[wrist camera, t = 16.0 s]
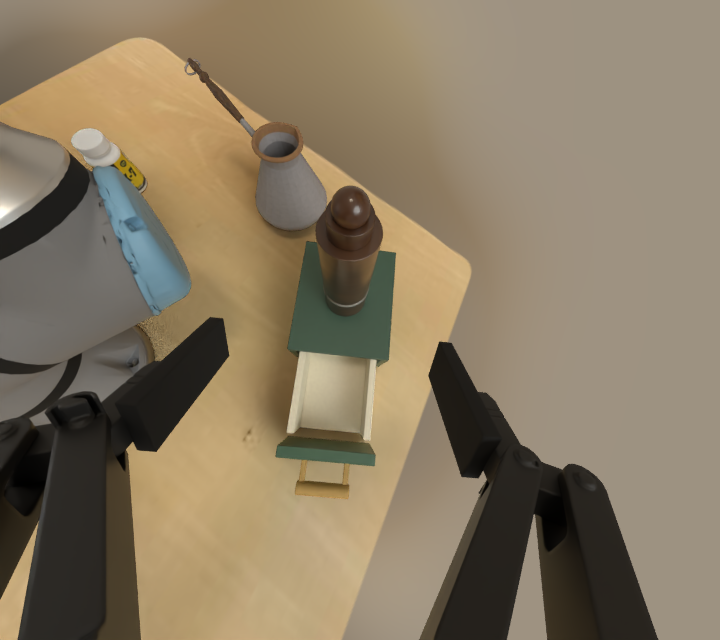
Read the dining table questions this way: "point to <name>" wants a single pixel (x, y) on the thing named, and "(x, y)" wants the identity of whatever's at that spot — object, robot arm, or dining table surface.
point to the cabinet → (339, 333)
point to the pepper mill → (348, 249)
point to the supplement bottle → (106, 155)
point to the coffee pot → (278, 169)
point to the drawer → (330, 416)
